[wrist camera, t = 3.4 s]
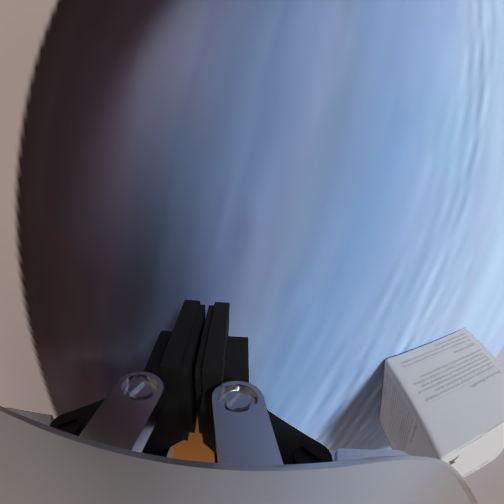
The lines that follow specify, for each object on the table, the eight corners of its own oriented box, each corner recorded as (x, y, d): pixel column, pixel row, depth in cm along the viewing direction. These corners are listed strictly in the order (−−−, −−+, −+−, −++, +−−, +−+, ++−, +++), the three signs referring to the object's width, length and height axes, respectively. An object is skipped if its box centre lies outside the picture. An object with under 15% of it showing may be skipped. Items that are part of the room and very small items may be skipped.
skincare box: (377, 418, 16) (410, 505, 9) (383, 356, 14) (440, 462, 7) (450, 389, 16) (495, 460, 9) (467, 323, 14) (537, 399, 7)
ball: (157, 375, 14) (130, 460, 9) (263, 384, 14) (269, 474, 9) (168, 433, 16) (154, 504, 11) (254, 440, 16) (257, 513, 11)
